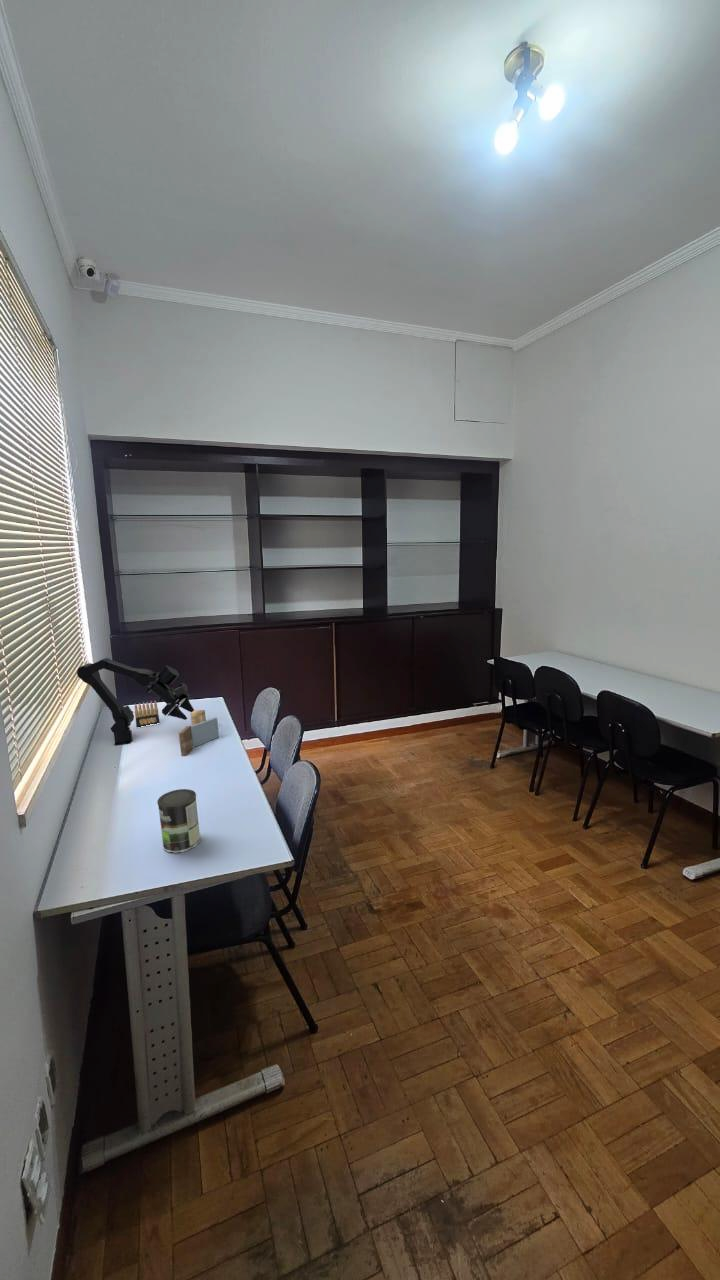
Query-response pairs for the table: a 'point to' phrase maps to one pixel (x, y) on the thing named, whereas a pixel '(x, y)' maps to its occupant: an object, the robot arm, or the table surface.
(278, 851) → the table surface
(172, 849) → the coffee can
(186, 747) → the partition wall
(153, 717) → the ammunition clip
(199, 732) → the door
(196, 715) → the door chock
